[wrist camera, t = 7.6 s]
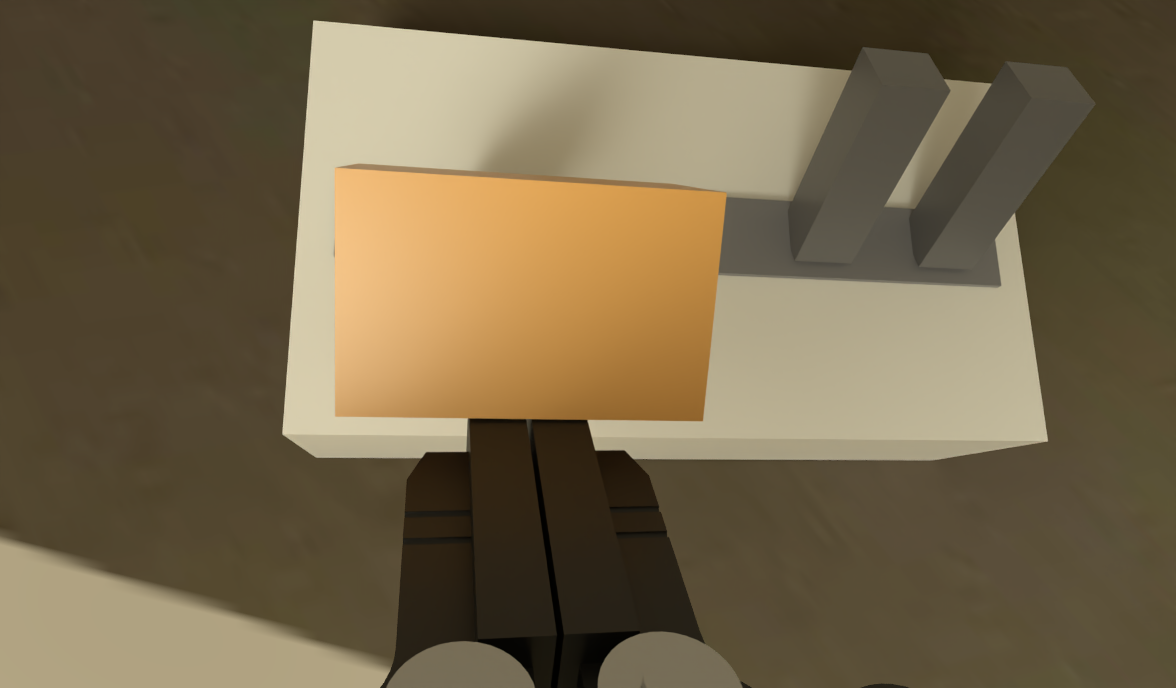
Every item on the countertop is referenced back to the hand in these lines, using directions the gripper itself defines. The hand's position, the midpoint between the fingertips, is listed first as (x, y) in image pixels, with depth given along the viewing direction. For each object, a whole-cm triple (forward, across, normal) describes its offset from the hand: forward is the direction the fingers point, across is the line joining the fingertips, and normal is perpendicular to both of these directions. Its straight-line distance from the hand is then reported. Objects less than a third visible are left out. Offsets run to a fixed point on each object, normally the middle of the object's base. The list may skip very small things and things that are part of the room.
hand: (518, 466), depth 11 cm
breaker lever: (+13, 0, +1) cm, 13 cm away
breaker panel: (+18, -6, +6) cm, 20 cm away
